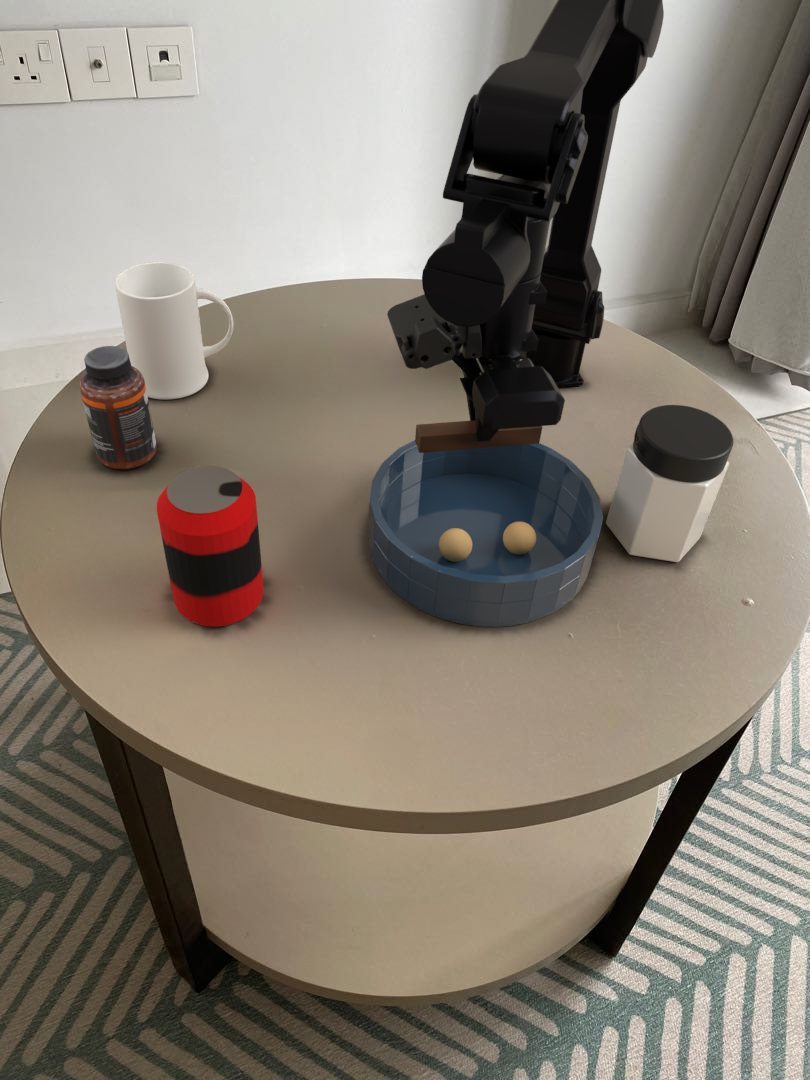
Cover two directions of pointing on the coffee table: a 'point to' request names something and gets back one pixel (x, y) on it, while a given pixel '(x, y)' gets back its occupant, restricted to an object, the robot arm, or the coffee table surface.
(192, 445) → the coffee table surface
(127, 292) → the mug
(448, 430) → the stick
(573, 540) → the bowl
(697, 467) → the jar
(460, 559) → the cork ball
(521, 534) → the cork ball
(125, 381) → the supplement bottle
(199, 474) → the soda can
